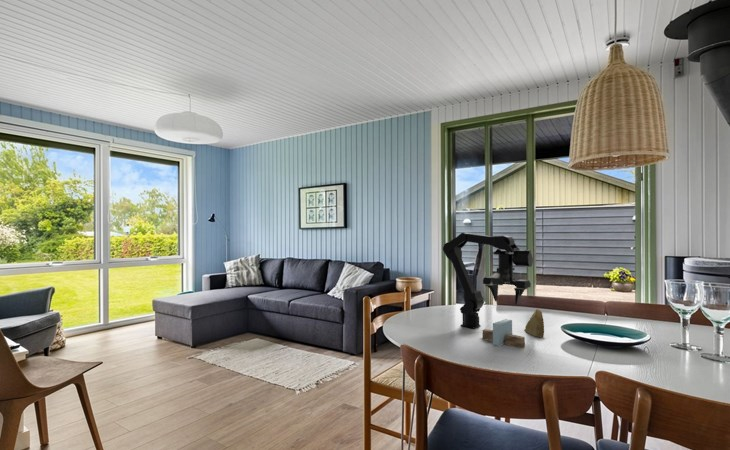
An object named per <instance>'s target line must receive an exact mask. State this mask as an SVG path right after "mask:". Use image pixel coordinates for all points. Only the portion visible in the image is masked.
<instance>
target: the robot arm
mask: <svg viewBox="0 0 730 450" xmlns="http://www.w3.org/2000/svg"><path fill="white" fill-rule="evenodd" d="M467 243H475V244H481V245H488V246H491V247H493V248H496V250H495V251H493V255H496V256H497V255H498V257H497V258H498V267H497V268H496V272H494V273H493V274H492V275H491V276H484V277H483V279H482V284H483V285H485V286H486V287H487V288H488V289H489V290H490V292H491V294H492V296H493V297H492V298H493V300H494V302H498V297H499V296H498V295H499V294H498V292H499V286H503V285H509V286H515V288H513V289H514V291H515V295H514V296H515V299H514V301H515V305H518V304H519V302H520V300H521V297H522V296H523V293H524V292H525V290H527V289H528V288H531V287H532V286H531V281H530V280H529V279H517V280H515V277H514V271H515V267H514V266H516V267H525V268H532V267H533V263H534V258H533V255H532V252H531V249H525V250H524V249H522V250H521V249H520V248H519V247H518V246H517V244H516V243H515V239H514V238H513V236H511V235H497V236H496V235H495V236H491V235H487V234H486V235H484V234H477V233H476V234H475V233H470V232H461V233H460V234H459V235H457V236H455V237H454V238H453V239H451V240H450V241H449V242H445V243H444V244H443V246H442V251H443V253H444V254H445V256H446V259H448V261H450V262H451V263H452V267H453V268H454V271H455V273H456V275H457V277H458V278H457V279H458V280H459V283H460V286H461V289H462V291H463V300H464V304H463V305H462V306H461V307H460V308H459V310H460V313H461V314H462V316H461V317H462V324H460V327H464V328H470V329H475V328H479V327H481V324H480V316H479V312H480V310H481V308H483V306H484V304H485V303H484V302H485V301H484V300H485V298H484V296H482V292H481V290H476V289H475V287H474V285H473V283H472V280H471V278H470V275H469V273H468V270H467V268H466V265H465V263H464V261H463V252H462V251H463V250H462V248H464V247H465V246H466V244H467Z"/></svg>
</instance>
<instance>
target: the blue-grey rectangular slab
mask: <svg viewBox="0 0 730 450" xmlns="http://www.w3.org/2000/svg"><path fill="white" fill-rule="evenodd" d="M492 330H493V341H492V345H494V346H498V347H500V346H502V345H504V344H503V340H505V339H506V335H507V334H513V320H512V319H508V318H505V319H502V320H499V321H494V322H493V323H492Z"/></svg>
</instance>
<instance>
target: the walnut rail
mask: <svg viewBox="0 0 730 450" xmlns="http://www.w3.org/2000/svg"><path fill="white" fill-rule="evenodd" d="M481 331H482V333H481V334H482V340H486V341H490V342H493V329H487V328H483V329H482V330H481ZM525 341H526V338H525V336H522V335H516V334H513V333H512V334H507V335H506V339H505V340H503V345H508V346H512V347H516V348H520V349H522V348H525V346H526V342H525Z"/></svg>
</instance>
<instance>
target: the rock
mask: <svg viewBox="0 0 730 450" xmlns="http://www.w3.org/2000/svg"><path fill="white" fill-rule="evenodd" d="M543 317H544V316H543V312H542V311H541V310H540V309H535V311H534V312H533V313H532V315H531V316H530V318H529V319H528V321H527V323H526V325H525V328H524V331H525V333H528V334H529V335H531V336H535V337H537V338H544V336H545V335H544V334H545V325H544V324H545V323H544V318H543Z"/></svg>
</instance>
